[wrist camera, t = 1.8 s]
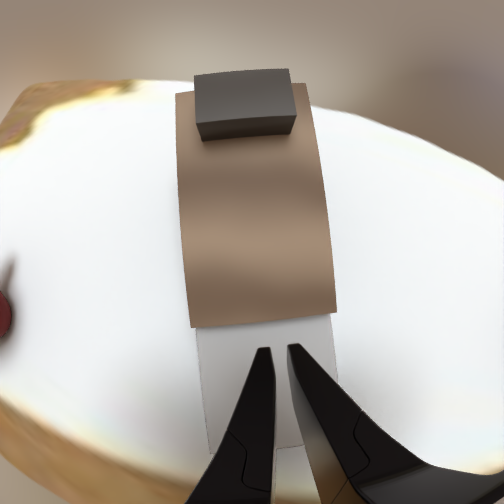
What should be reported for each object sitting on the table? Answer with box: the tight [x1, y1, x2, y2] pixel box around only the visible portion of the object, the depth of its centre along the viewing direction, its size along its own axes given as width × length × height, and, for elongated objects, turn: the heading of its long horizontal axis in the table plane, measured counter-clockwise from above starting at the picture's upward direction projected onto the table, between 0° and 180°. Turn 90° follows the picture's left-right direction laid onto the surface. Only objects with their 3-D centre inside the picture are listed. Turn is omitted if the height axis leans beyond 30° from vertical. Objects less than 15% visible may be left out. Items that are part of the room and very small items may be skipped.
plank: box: [175, 69, 337, 328], centre depth 16 cm, size 14×8×4 cm, turn 6°
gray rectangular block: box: [196, 313, 338, 454], centre depth 21 cm, size 22×8×6 cm, turn 6°
